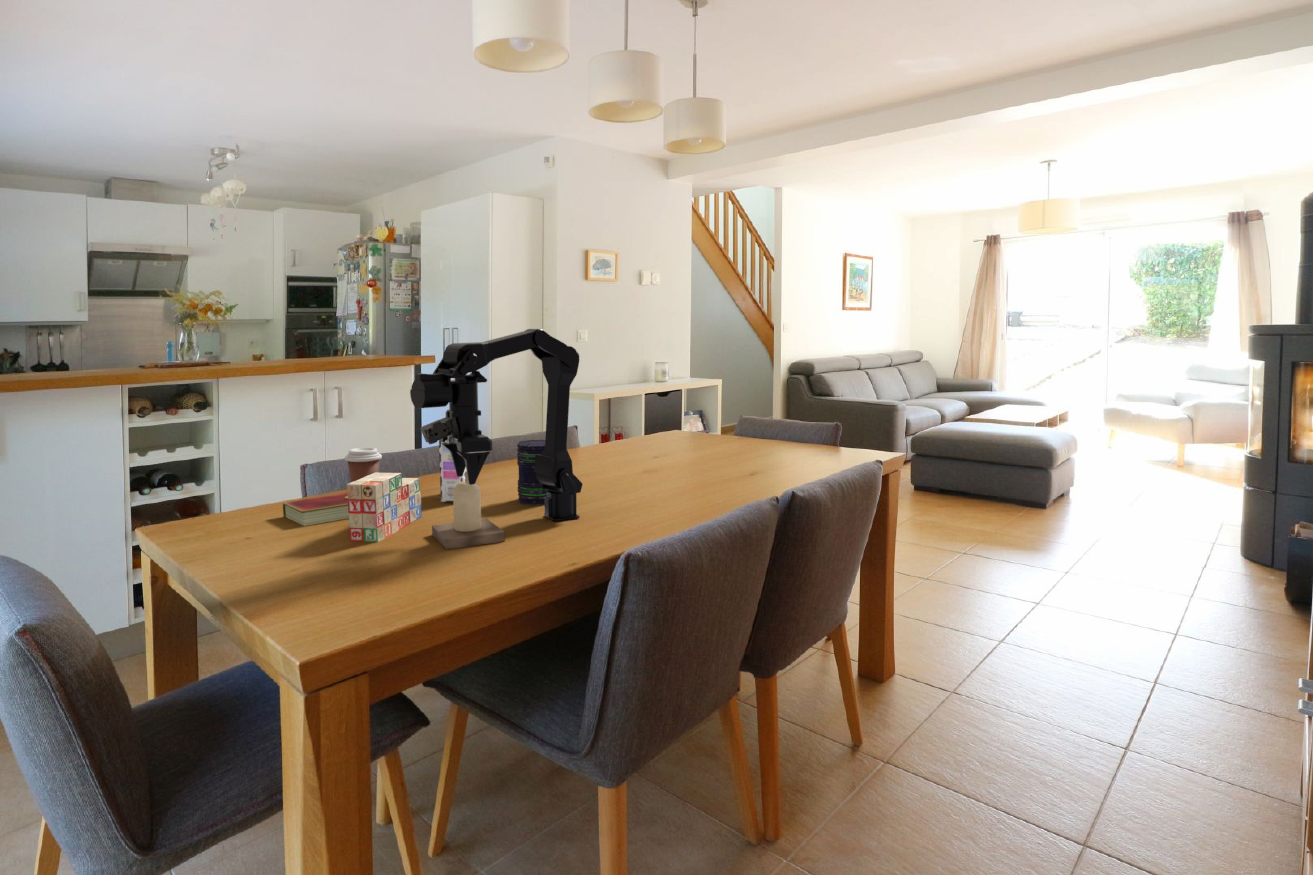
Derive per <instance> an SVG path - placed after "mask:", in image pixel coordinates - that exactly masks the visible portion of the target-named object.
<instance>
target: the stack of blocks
mask: <svg viewBox="0 0 1313 875" xmlns="http://www.w3.org/2000/svg"><path fill="white" fill-rule="evenodd" d="M420 482H421V481H420V477H419V478H417V477H403V476H402V472H379V473H377V472H375V473H373V474H371V475H368V476H366V477H363V478H361V479H359V480H356V481H354V482H349V483H347V484H346V490H347V492H346V493H347V494H348V513H349V518H348V527H349V528H348V529H349V530H348V531H349V541H350V542H367V543H368V542H370V543H378V542H381V541H382V540H384V539H386V538H389V537H390V536H392V535H393V534H395V533H397V532H398V531H399V530H400V529H403V528H405V527H406V526H407V525H409V524H412V523H413V522H414V521H416V520H418V519H419V518H421V517H422V494H421V485H420V484H421V483H420Z"/></svg>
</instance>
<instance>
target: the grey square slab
mask: <svg viewBox="0 0 1313 875" xmlns="http://www.w3.org/2000/svg"><path fill="white" fill-rule="evenodd" d="M431 535H432V537H434V538H435V540H437V542H439V543H440V544H441V545H442V547H443V548H445V549H446V550H452V549H453V550H454V549H458V548H466V547H474V546H481V545H488V544H497V543H503V542H506V539H505V538H506V536H505V531H504V530H503V529H501V528H500V527H499V526H497V525H496V524H495V523H493V521H490V520H489V518H485V519H481V529H479V530H476V531H471V532H460V531H456V530H455V528H454V522H452V523H445V524H435V525H431Z"/></svg>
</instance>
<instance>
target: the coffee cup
mask: <svg viewBox="0 0 1313 875" xmlns="http://www.w3.org/2000/svg"><path fill="white" fill-rule="evenodd" d="M382 458H383V456H382V454H381V453H380V452H379V451H378V448H376V447H368V446H367V447H355V448H351V449H349V450H348V453H347V455H345V456H344V461H346V462H347V466H348V474H349V481H350V482H349V483H351V482H354V481H356V480H359V479H361V478H363V477H366V476H368V475H371V474H373V473H375V472H377V473H380V460H381V459H382Z"/></svg>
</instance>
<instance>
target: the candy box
mask: <svg viewBox="0 0 1313 875" xmlns="http://www.w3.org/2000/svg"><path fill="white" fill-rule="evenodd" d="M441 443H445V442H441V441H439V440H438V446H439V447H438V450H439V455H438V456H439V479H440V481H439V483H440V487H439V488H440V503H453V489H454V488H455V487H456V485H457V484H458V483H459V482H461V481H464V482H469V481H468V476H467V471H466V467H465V470H464V473H463V476H461V477H458V476H457V474H456V470H455V467H454V463H453V460H452V457H451V453H450V451H449V450H448V449H447V448H446V447H444V446H443V445H442V444H441ZM475 484H476V485H477V482H476V483H475Z"/></svg>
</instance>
